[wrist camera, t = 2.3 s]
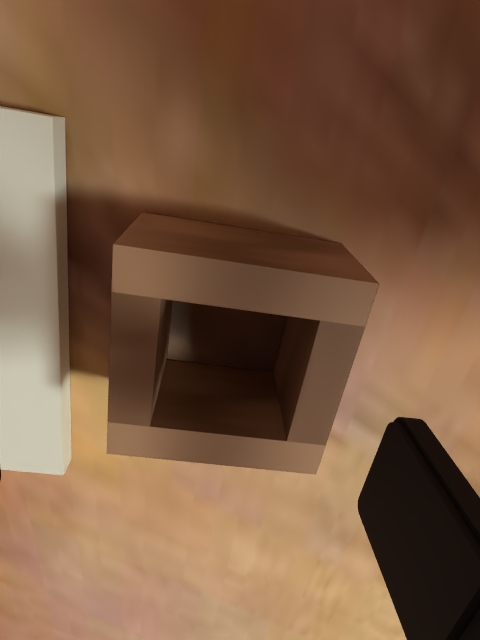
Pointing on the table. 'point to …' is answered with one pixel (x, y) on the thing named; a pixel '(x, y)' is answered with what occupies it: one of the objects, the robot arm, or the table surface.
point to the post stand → (34, 294)
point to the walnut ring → (224, 382)
